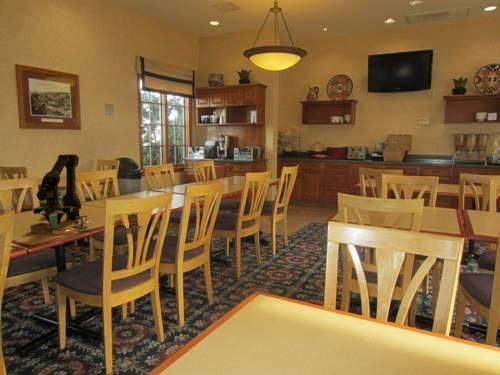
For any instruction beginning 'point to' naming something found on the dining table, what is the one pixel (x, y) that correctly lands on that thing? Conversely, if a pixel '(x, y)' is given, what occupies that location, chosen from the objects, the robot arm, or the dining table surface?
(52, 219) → the block
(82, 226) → the balance
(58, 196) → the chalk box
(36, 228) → the sleeve
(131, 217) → the stone cup
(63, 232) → the dish
